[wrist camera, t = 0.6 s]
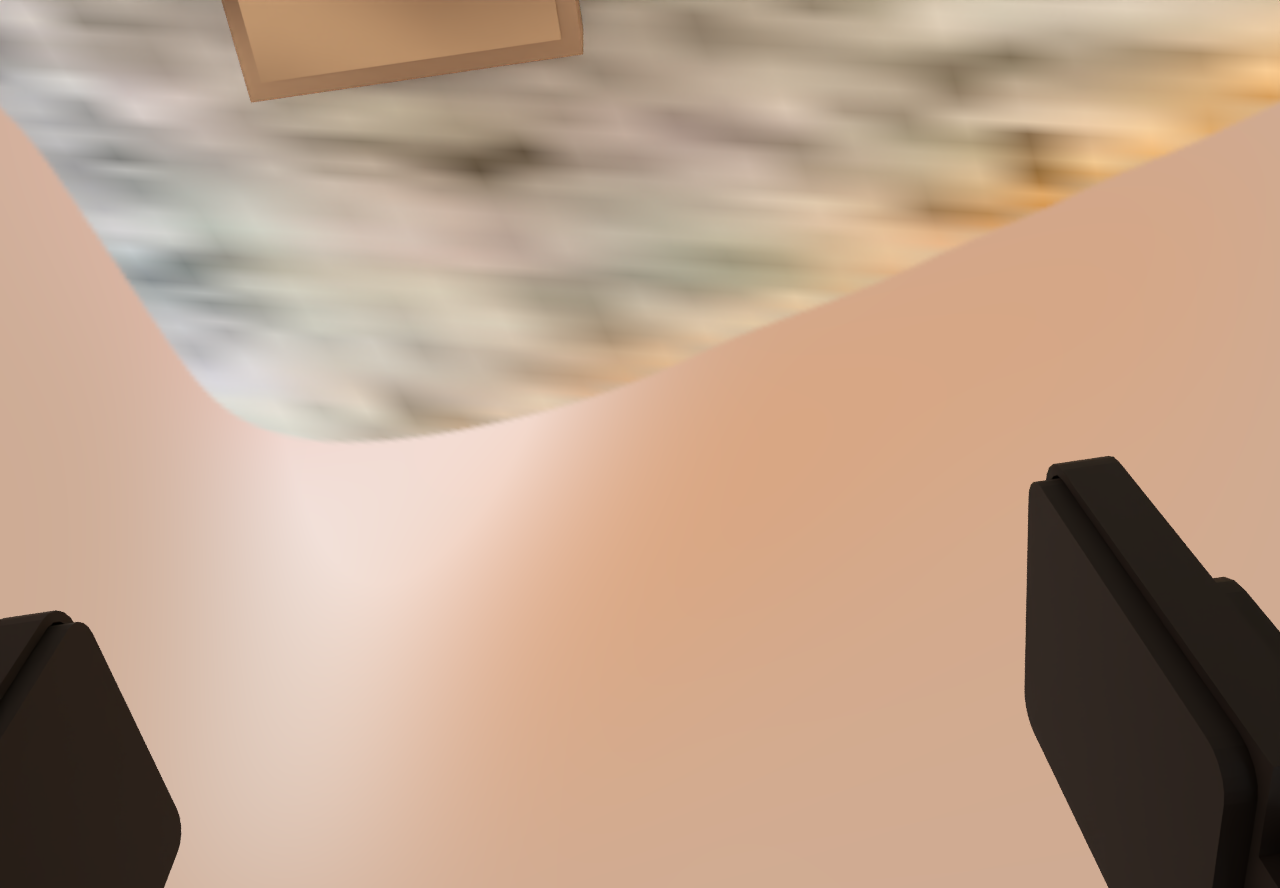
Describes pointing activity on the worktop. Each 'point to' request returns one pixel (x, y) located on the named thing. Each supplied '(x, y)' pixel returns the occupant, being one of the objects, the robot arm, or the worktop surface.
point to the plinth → (390, 40)
